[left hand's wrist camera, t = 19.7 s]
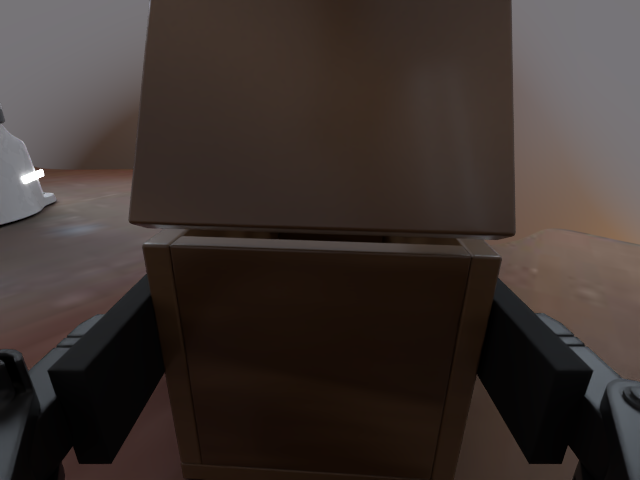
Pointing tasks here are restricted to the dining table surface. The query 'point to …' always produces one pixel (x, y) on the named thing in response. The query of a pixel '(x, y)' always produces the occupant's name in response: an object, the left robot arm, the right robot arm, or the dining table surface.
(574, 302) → the dining table surface
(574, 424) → the left robot arm
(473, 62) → the lid
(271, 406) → the chest
